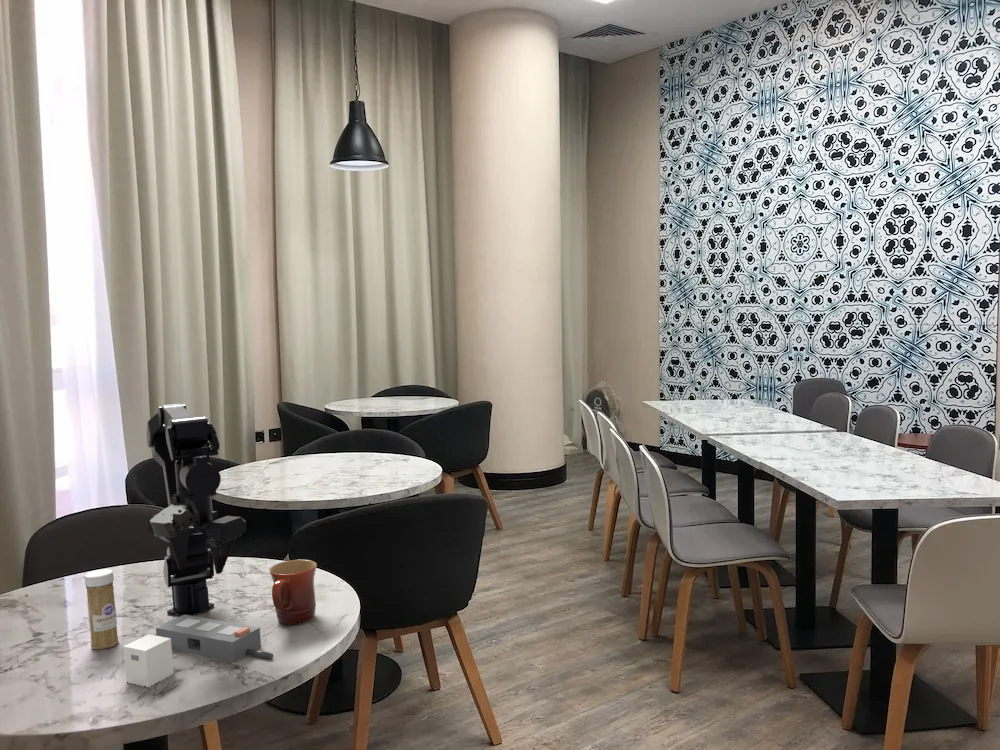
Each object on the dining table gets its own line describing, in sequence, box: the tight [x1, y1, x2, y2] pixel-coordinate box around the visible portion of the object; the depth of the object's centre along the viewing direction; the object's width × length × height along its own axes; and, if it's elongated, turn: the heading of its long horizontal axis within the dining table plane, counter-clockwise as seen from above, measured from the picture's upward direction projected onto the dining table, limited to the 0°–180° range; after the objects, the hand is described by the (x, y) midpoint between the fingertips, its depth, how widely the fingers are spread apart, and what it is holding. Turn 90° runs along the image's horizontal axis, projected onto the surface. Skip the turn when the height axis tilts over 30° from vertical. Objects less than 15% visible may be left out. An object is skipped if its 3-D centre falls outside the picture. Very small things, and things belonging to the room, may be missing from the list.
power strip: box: [155, 615, 274, 663], centre depth 139 cm, size 24×6×4 cm, turn 65°
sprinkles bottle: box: [84, 568, 120, 651], centre depth 143 cm, size 5×5×14 cm
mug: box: [269, 559, 318, 626], centre depth 149 cm, size 12×9×10 cm
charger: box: [122, 633, 179, 688], centre depth 130 cm, size 5×8×6 cm, turn 155°
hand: (200, 570), depth 145 cm, fingers open, 9 cm apart
